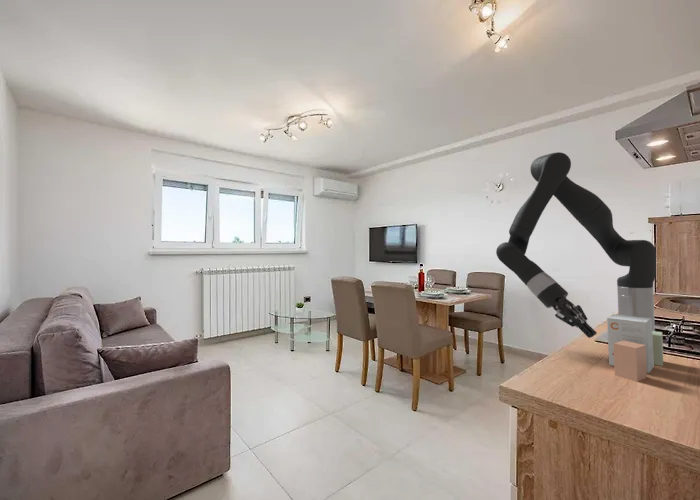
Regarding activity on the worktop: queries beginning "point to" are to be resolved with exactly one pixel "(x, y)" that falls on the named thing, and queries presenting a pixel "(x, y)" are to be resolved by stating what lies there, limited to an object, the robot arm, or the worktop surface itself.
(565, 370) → the worktop surface
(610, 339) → the small box
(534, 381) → the worktop surface
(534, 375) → the worktop surface
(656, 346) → the sage block
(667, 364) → the worktop surface
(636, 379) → the terracotta block
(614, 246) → the robot arm
